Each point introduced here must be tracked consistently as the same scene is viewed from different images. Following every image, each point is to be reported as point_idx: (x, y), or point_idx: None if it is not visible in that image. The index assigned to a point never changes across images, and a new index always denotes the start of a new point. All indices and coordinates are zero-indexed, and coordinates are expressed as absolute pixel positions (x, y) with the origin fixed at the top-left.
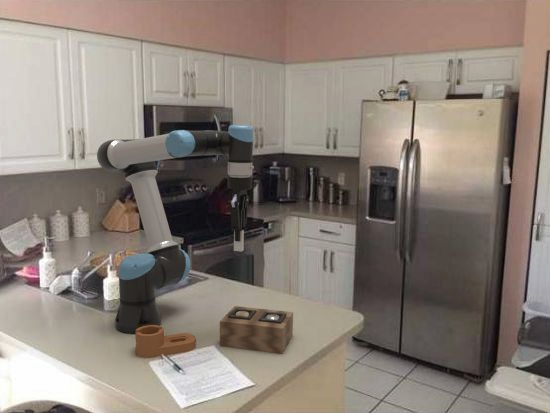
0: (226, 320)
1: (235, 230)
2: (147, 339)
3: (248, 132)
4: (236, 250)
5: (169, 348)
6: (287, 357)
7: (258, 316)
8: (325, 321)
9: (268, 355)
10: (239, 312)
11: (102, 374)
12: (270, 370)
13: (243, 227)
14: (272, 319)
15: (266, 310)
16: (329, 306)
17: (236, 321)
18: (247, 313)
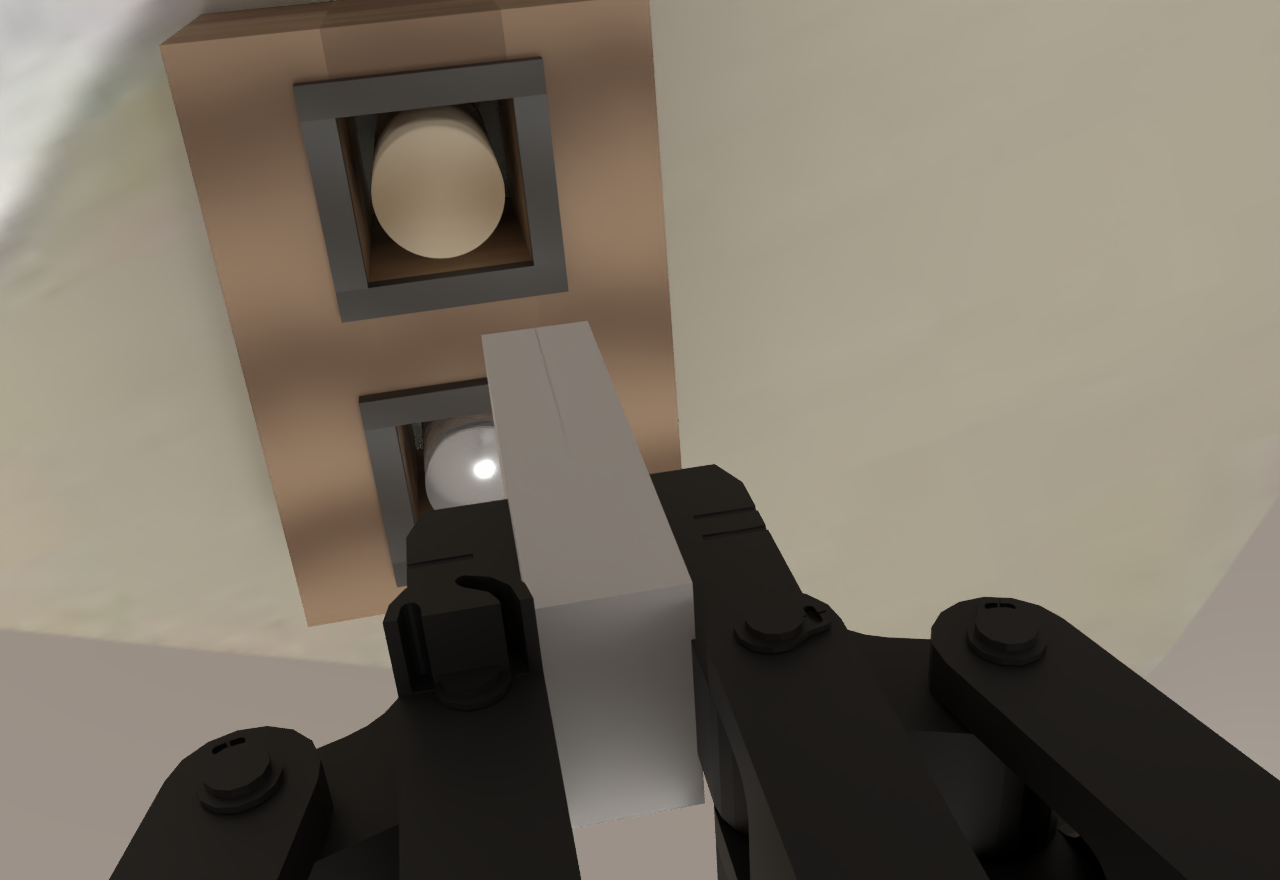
0: (216, 105)
1: (359, 763)
2: None
3: None
4: (490, 397)
5: None
6: (285, 563)
7: (469, 348)
8: (964, 567)
9: (247, 445)
10: (446, 156)
11: None
12: (39, 544)
13: (724, 862)
14: (429, 500)
15: (644, 351)
16: (1254, 500)
17: (246, 214)
18: (458, 243)
